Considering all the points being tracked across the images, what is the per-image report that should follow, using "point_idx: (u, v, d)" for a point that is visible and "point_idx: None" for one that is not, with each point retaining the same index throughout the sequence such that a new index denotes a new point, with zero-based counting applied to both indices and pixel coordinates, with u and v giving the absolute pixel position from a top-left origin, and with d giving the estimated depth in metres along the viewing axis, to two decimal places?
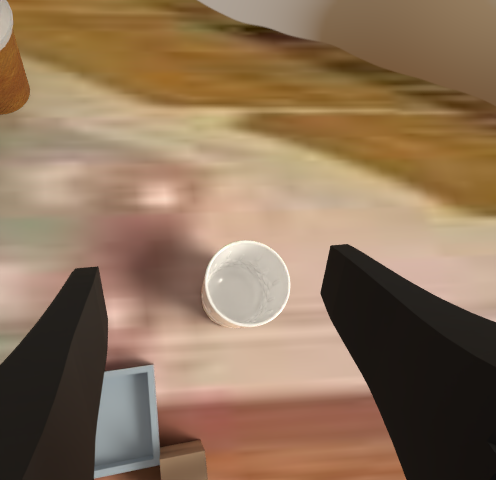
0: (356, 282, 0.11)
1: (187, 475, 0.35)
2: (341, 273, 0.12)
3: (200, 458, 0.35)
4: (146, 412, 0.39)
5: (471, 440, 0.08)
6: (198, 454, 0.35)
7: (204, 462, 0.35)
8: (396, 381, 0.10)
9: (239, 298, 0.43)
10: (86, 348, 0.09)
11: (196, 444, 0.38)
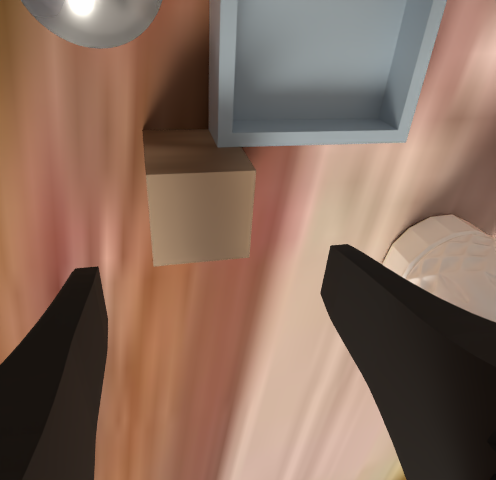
0: (356, 282, 0.11)
1: (211, 225, 0.16)
2: (341, 273, 0.12)
3: (237, 249, 0.17)
4: (307, 110, 0.18)
5: (471, 440, 0.08)
6: (244, 246, 0.17)
7: (227, 256, 0.17)
8: (396, 381, 0.10)
9: None
10: (86, 348, 0.09)
11: None
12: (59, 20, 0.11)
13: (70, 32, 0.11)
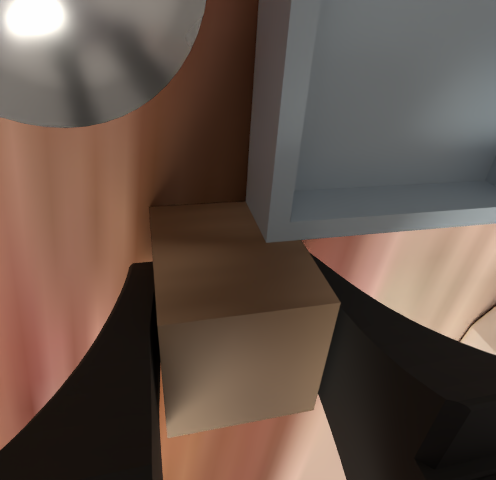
0: None
1: (261, 379, 0.10)
2: None
3: (296, 403, 0.11)
4: (390, 173, 0.13)
5: (401, 456, 0.07)
6: (308, 398, 0.11)
7: (281, 412, 0.11)
8: (340, 391, 0.10)
9: None
10: (154, 339, 0.09)
11: None
12: None
13: (3, 99, 0.05)
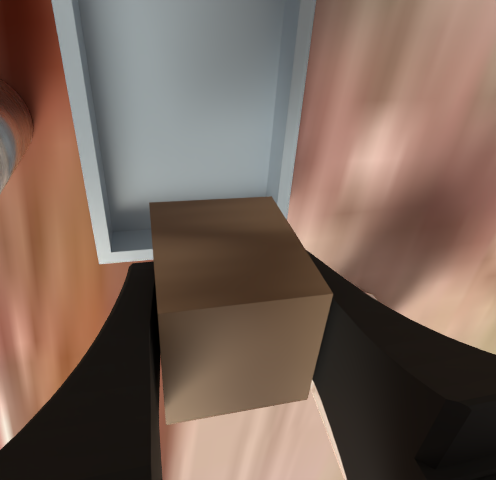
0: None
1: (256, 368, 0.10)
2: None
3: (290, 392, 0.11)
4: None
5: (402, 456, 0.07)
6: (302, 388, 0.11)
7: (276, 401, 0.11)
8: (341, 391, 0.10)
9: None
10: (153, 339, 0.09)
11: None
12: None
13: None
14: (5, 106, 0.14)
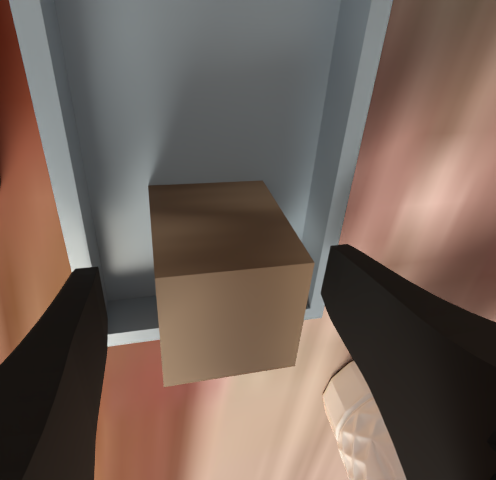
0: (356, 282, 0.11)
1: (246, 333, 0.11)
2: (341, 273, 0.12)
3: (279, 358, 0.12)
4: None
5: (471, 440, 0.08)
6: (289, 354, 0.12)
7: (265, 367, 0.12)
8: (396, 381, 0.10)
9: None
10: (86, 348, 0.09)
11: None
12: None
13: None
14: None
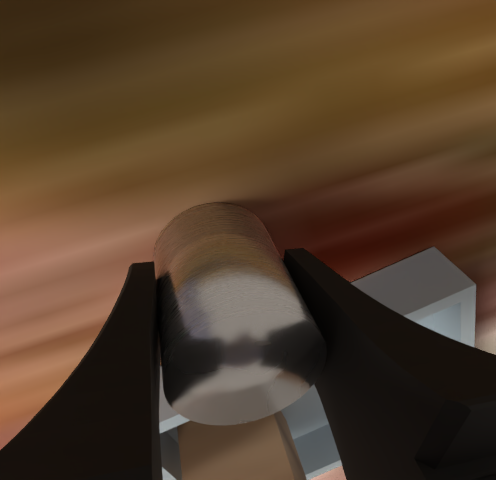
0: (306, 288, 0.11)
1: None
2: (294, 278, 0.12)
3: None
4: None
5: (401, 456, 0.07)
6: None
7: None
8: (340, 391, 0.10)
9: None
10: (154, 339, 0.09)
11: None
12: (180, 376, 0.09)
13: (173, 386, 0.09)
14: None
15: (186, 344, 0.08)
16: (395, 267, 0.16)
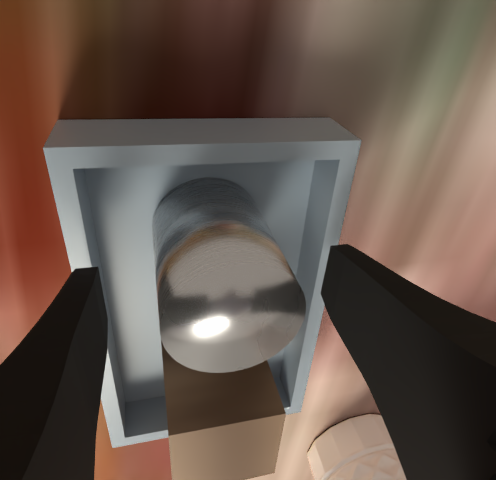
0: (356, 282, 0.11)
1: (236, 458, 0.14)
2: (341, 273, 0.12)
3: (261, 470, 0.15)
4: None
5: (471, 440, 0.08)
6: (269, 466, 0.15)
7: (251, 476, 0.16)
8: (396, 381, 0.10)
9: None
10: (86, 348, 0.09)
11: None
12: (175, 328, 0.10)
13: (170, 338, 0.10)
14: None
15: (174, 299, 0.10)
16: None
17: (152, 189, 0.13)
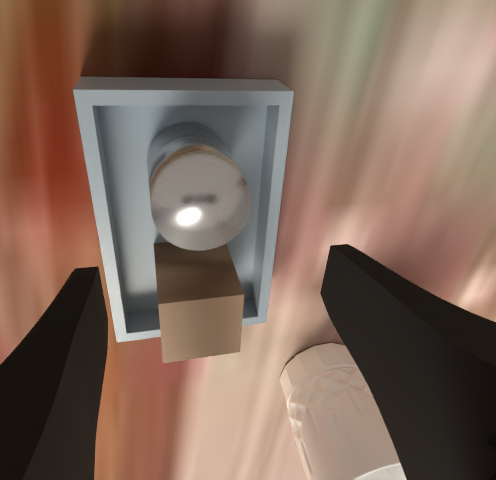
0: (356, 282, 0.11)
1: (209, 332, 0.20)
2: (341, 273, 0.12)
3: (229, 347, 0.21)
4: None
5: (471, 440, 0.08)
6: (236, 345, 0.21)
7: (222, 352, 0.21)
8: (396, 381, 0.10)
9: None
10: (86, 348, 0.09)
11: None
12: (161, 209, 0.15)
13: (158, 217, 0.15)
14: None
15: (160, 184, 0.15)
16: None
17: (147, 130, 0.18)
